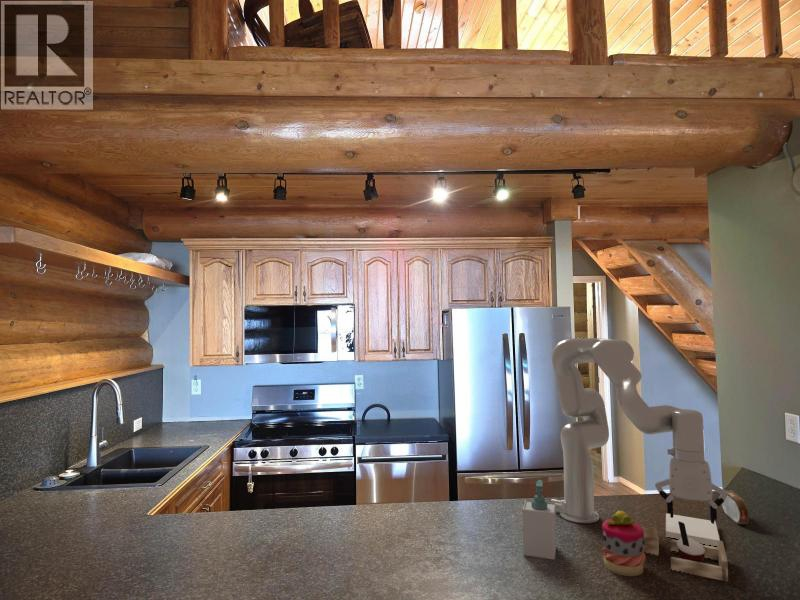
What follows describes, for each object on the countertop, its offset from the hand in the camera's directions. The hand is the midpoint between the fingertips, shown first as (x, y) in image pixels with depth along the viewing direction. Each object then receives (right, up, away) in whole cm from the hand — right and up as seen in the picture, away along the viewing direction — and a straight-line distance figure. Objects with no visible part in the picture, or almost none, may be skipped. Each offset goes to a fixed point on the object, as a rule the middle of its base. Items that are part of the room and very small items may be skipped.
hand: (691, 519), depth 138 cm
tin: (+32, -14, +31) cm, 46 cm away
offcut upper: (-7, -10, +9) cm, 16 cm away
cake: (-20, -12, -2) cm, 23 cm away
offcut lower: (-7, -13, +9) cm, 17 cm away
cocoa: (0, -12, 0) cm, 12 cm away
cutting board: (+11, -13, +20) cm, 26 cm away
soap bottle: (-40, -13, +7) cm, 42 cm away
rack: (+1, -12, -1) cm, 12 cm away
